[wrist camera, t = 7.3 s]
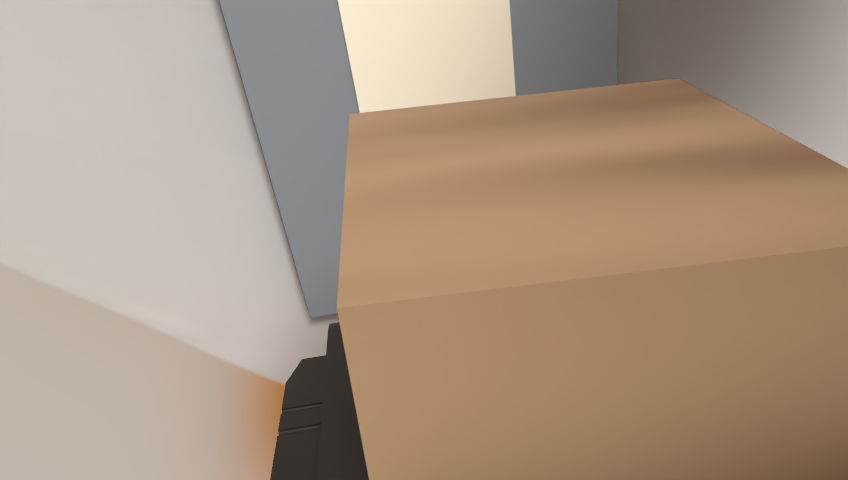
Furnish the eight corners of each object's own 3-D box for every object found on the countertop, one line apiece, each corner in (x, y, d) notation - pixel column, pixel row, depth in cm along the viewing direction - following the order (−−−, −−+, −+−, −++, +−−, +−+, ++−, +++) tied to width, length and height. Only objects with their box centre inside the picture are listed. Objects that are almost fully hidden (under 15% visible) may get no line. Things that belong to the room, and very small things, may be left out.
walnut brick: (349, 114, 9) (336, 306, 5) (678, 78, 9) (965, 232, 5) (403, 479, 13) (424, 773, 8) (633, 449, 13) (770, 721, 9)
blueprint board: (185, -146, 20) (175, -148, 19) (610, -214, 20) (623, -220, 19) (312, 305, 28) (310, 319, 27) (606, 256, 28) (614, 268, 27)
